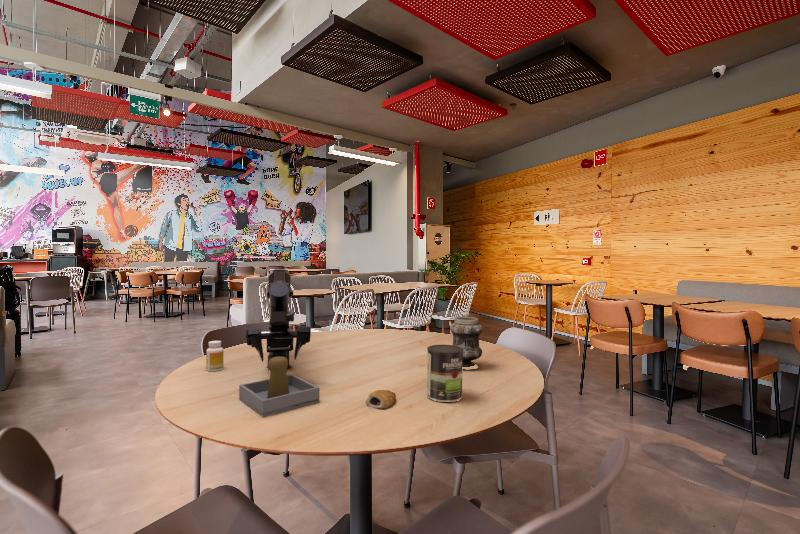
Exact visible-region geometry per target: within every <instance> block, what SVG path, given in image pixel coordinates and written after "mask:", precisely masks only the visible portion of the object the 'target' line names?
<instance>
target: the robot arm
mask: <svg viewBox="0 0 800 534" xmlns="http://www.w3.org/2000/svg"><path fill="white" fill-rule="evenodd" d="M291 280H292V279H291V275H290V274H289V273H288V272H287V269H285V268H284V269H283V268H281V269H279V268H274V269H272V272H271V273H270V274H269V275H268V279H267V281H268V283H267V284H268V286H267V290H266V297H267V299H269V323H268V324H269V326H268V327H269V328H268V331H261V327H249V328H247V329H246V333H245V337H246V345H247V346H251V348H255V350H256V351H257V354H258V355H259V358H260V360H261V362H264V350H263V341H262V340H266V353H268V355H267V365H266V367H267V368H268V369H270V368H269V361H270V359H271V358H273V357H285V358H287V360H288V366H287V368H286V370H287V369H291V368H292V366H291V365H290V352H292V351H294V356H293V358H294V360H297V358H298V355H299V352H300V350H301V348H302V347H303V346H305V345H306V344H308V343H310V342H311V335H312V330H311V327H310V326H309V325H301V326H297V329H296V330H293V331H292V330H290V323H291V322H294V321H295V310H294V309H289V301H290V299H292V296H294V291H293V289H292V286H291V285H292V283H291ZM295 339H296V340H295ZM294 340H295V341H294ZM294 342H295V348H294Z"/></svg>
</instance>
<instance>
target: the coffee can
mask: <svg viewBox="0 0 800 534" xmlns="http://www.w3.org/2000/svg"><path fill="white" fill-rule="evenodd" d="M462 364H463V348H461V347H458V346H454V345H453V344H434V345H432V344H431V345H429V346H427V371H426V372H427V373H426V375H427V376H426V378H427V379H426V380H427V381H426V383H427V384H426V398H428V399H429V398H430V399H432V400H431V401H433V400H434V401H433V402H436V401H438V402H437V403H442V402H452V403H455V402H454V401H457V400H459V399H460V398H461V397H462V398H463V370H462ZM430 399H429V400H430ZM457 402H458V401H457Z"/></svg>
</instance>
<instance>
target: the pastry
mask: <svg viewBox="0 0 800 534" xmlns="http://www.w3.org/2000/svg"><path fill="white" fill-rule="evenodd" d="M396 398H397V395H396V392H394V391H391V390H388V389H386V390H385V389H381V390H374V391H373V392H371V393H369V395H368V397H367V398H366V400H365V405H367V407H369V408H374V409H375V408H376V409H378V410H379V409H380V410H382V409H388V408H389V407H392V405H394V403H395V402H396Z"/></svg>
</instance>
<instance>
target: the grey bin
mask: <svg viewBox="0 0 800 534" xmlns="http://www.w3.org/2000/svg"><path fill="white" fill-rule="evenodd" d="M269 379H270V378H267V379H262V380H258V381H252V382H248V383H247V382H246V383H242V384H239V387H238V391H239V394H238V396H239V398H238V399H239V401H241V402H242V403H244V405H246V406H248V407H249V408H250V409H252V411H254V412H256V413H257V414H258V415H259V416H261V418H264V417H268V416H269V417H270V416H273V415H276V414H280V413H283V412H287V411H291V410H295V409H299V408H301V407H302V408H303V407H306V406H310V405H314V404H317V403H320V387H319V386H317V385H315V384H314V383H311V382H309V381H307V380H305V379H302V378H300V377H299V376H297V375H295V374H292V373H291V374H287V379H288V386H289V394H286V395H282V396H277V397H273V398H269V399H267V395H268V387H269Z"/></svg>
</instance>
